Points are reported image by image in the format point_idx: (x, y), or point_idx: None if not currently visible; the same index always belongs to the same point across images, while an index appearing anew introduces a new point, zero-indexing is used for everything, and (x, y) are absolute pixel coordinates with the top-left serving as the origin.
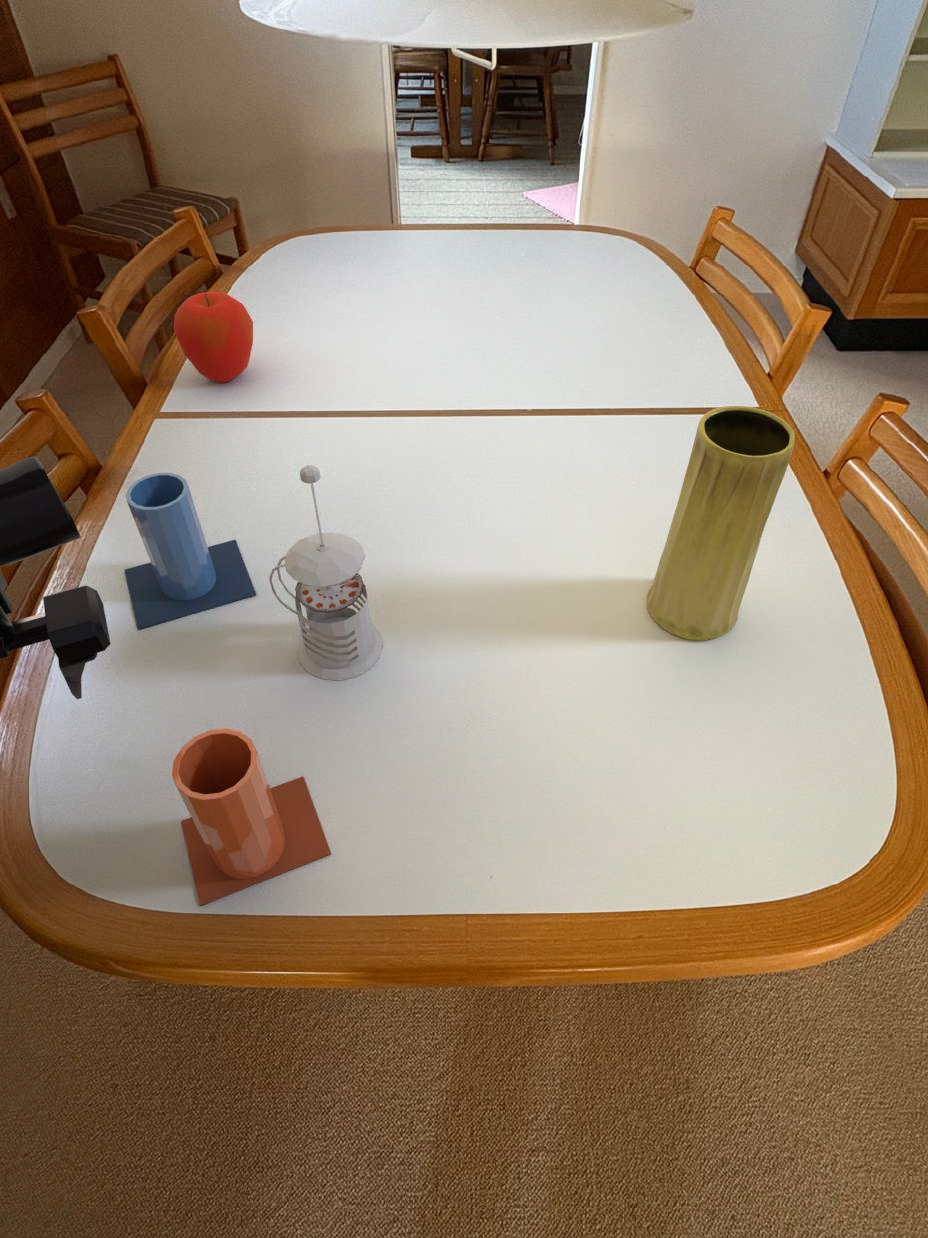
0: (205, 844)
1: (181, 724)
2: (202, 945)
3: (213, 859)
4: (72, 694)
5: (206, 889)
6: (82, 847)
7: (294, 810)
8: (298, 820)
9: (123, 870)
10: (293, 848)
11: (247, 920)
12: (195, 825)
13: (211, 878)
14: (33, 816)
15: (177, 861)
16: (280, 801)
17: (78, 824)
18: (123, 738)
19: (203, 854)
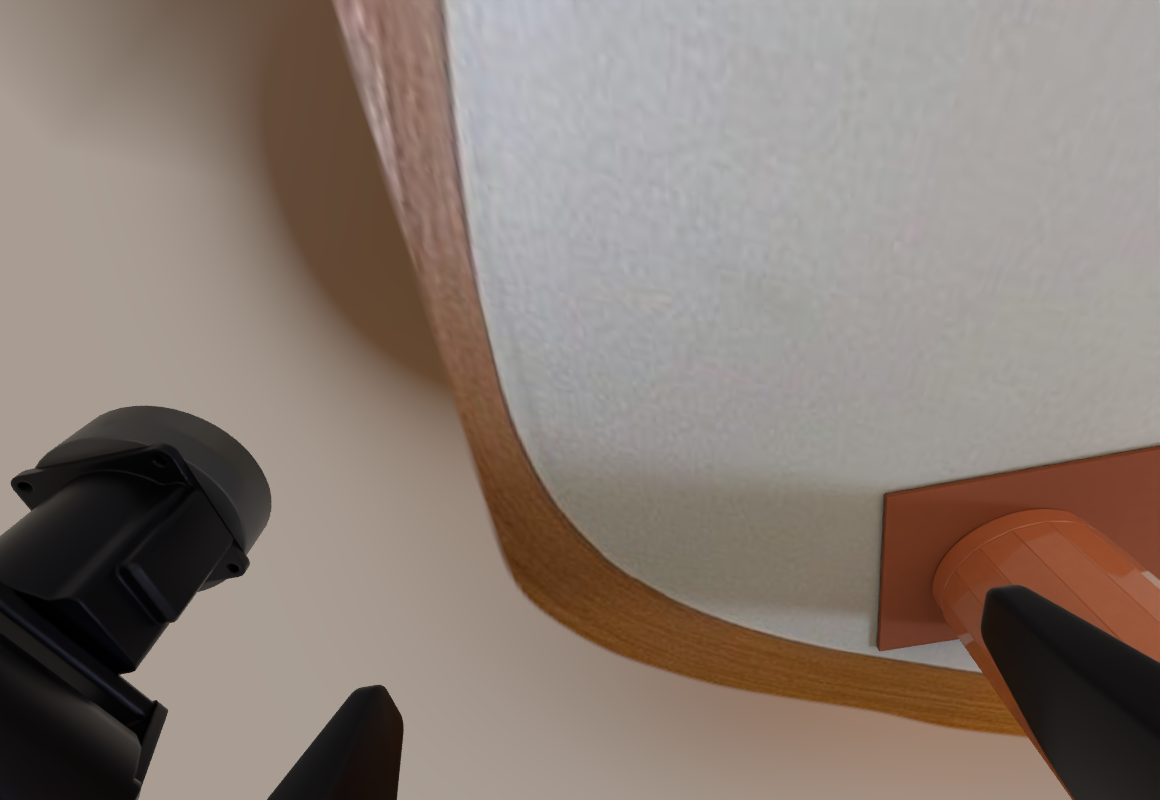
0: (1000, 697)
1: (972, 171)
2: (862, 695)
3: (958, 637)
4: (1039, 743)
5: (899, 630)
6: (651, 511)
7: (1145, 516)
8: (1139, 538)
9: (740, 569)
10: None
11: (948, 675)
12: (916, 512)
13: (914, 615)
14: (518, 415)
15: (853, 570)
16: (1129, 493)
17: (638, 456)
18: (770, 192)
19: (913, 572)
